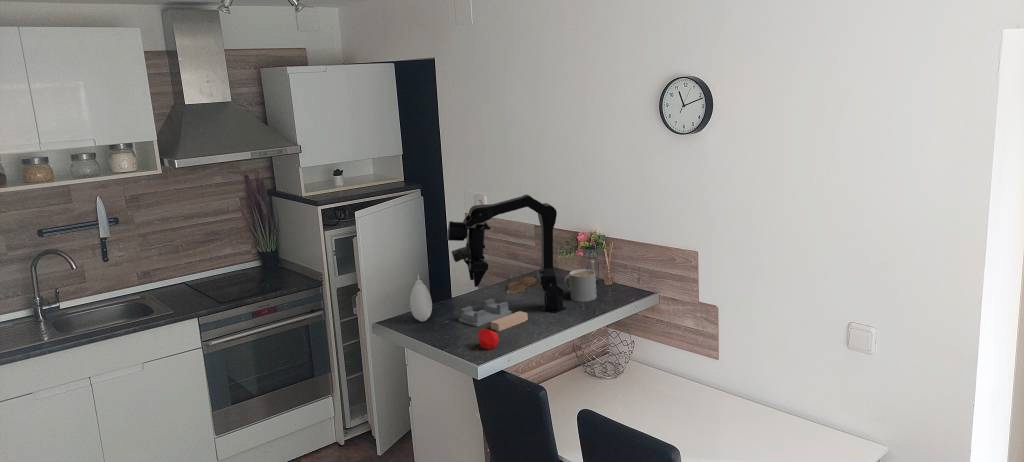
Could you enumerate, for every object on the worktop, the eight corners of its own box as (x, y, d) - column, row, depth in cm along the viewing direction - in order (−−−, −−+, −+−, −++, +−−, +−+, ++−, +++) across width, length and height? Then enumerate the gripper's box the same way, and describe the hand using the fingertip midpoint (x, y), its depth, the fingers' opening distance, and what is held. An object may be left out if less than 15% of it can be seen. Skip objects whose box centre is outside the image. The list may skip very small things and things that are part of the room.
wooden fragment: (519, 295, 294) (519, 292, 294) (495, 293, 299) (495, 291, 299) (545, 277, 316) (545, 275, 316) (523, 276, 321) (522, 274, 321)
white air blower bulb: (427, 324, 266) (422, 277, 262) (408, 323, 269) (403, 276, 265) (436, 317, 273) (432, 271, 270) (418, 316, 276) (413, 270, 272)
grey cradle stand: (511, 313, 272) (510, 302, 271) (477, 326, 260) (475, 314, 259) (493, 308, 279) (492, 297, 278) (459, 321, 268) (458, 309, 267)
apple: (503, 332, 237) (489, 319, 242) (486, 341, 234) (472, 327, 239) (503, 348, 241) (490, 334, 246) (486, 357, 238) (473, 343, 243)
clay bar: (527, 321, 263) (527, 313, 263) (499, 332, 254) (498, 323, 254) (520, 318, 266) (519, 311, 266) (491, 329, 257) (490, 321, 257)
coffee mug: (601, 297, 283) (600, 272, 281) (582, 303, 277) (581, 277, 275) (578, 290, 294) (577, 266, 291) (559, 296, 288) (558, 271, 286)
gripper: (450, 235, 269) (448, 276, 272) (457, 246, 251) (455, 290, 254) (480, 235, 272) (477, 276, 275) (489, 246, 254) (487, 290, 257)
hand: (473, 283), depth 265 cm, fingers open, 9 cm apart
